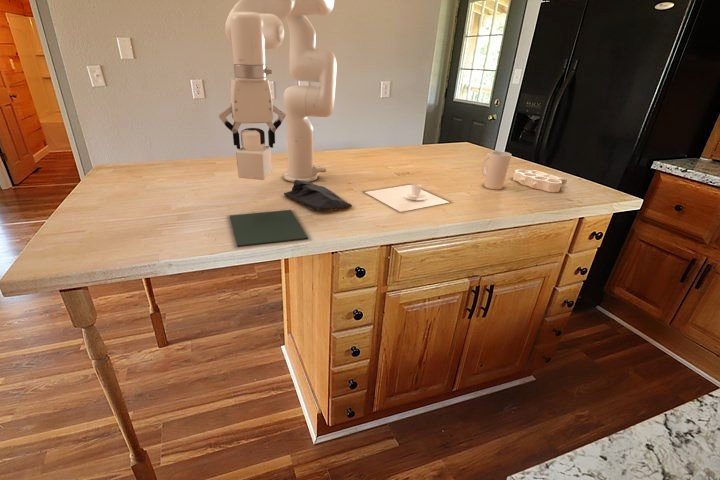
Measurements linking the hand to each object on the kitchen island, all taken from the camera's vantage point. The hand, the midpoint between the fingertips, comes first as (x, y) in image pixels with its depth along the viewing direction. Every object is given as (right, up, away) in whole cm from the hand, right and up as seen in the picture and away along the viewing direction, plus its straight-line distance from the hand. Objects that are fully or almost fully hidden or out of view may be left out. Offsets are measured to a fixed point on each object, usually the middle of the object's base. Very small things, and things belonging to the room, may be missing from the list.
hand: (254, 147), depth 103 cm
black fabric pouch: (+16, -11, +23) cm, 30 cm away
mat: (+3, -21, +5) cm, 21 cm away
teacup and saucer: (+46, -8, +28) cm, 54 cm away
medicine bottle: (0, -7, +4) cm, 8 cm away
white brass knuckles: (+98, -1, +43) cm, 107 cm away
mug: (+79, -2, +41) cm, 89 cm away
